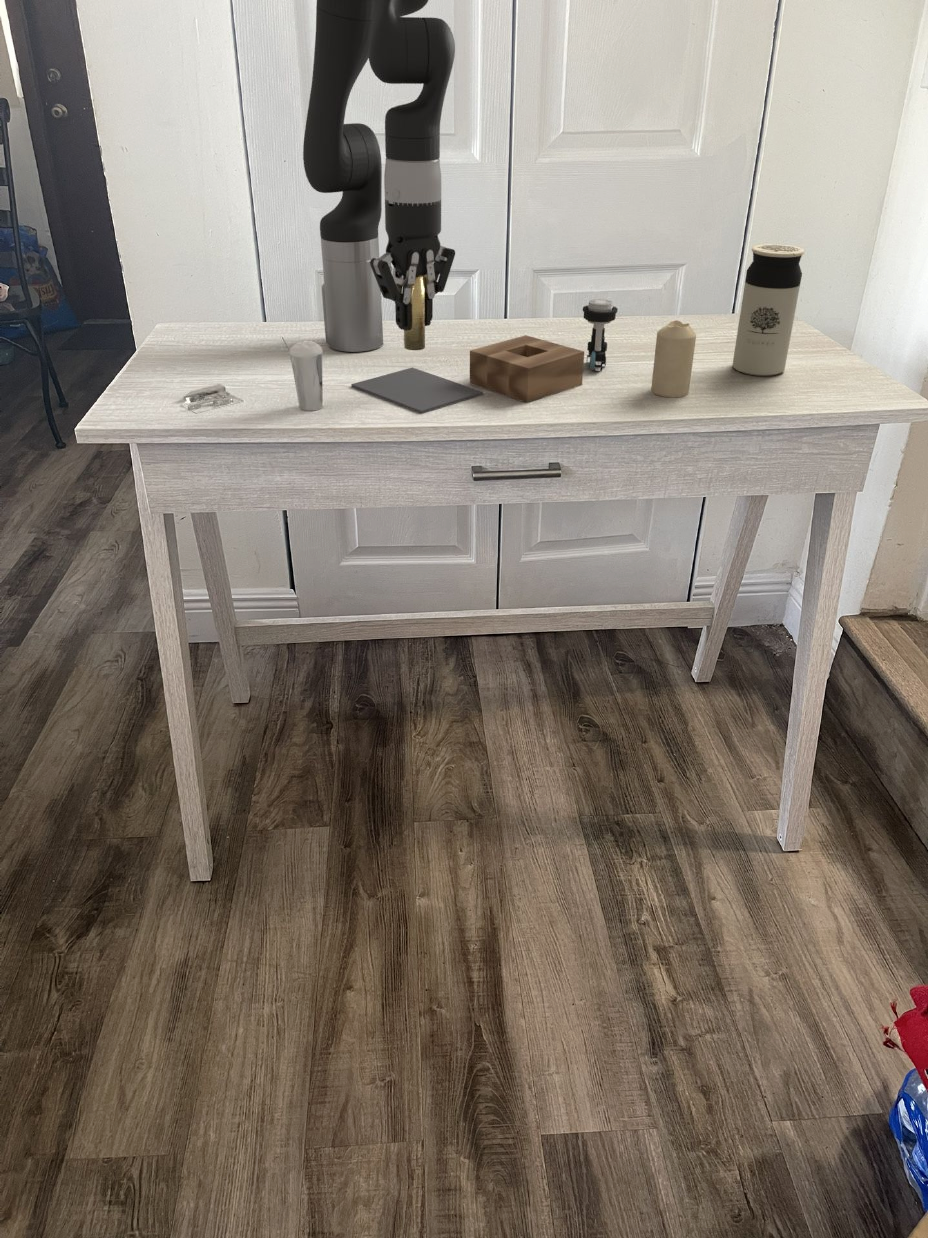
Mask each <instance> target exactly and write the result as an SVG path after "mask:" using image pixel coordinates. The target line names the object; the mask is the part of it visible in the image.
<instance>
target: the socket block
mask: <svg viewBox="0 0 928 1238" xmlns="http://www.w3.org/2000/svg"><path fill="white" fill-rule="evenodd" d="M584 361H585V351H584V350H580V349H577V348H572V347H570V346H565V345H563V344H559V343H554V342H552V341H547V340H544V339H540V338H537V337H533V336H530V335H522V336H521V335H520V336H518V337H514V338H510V339H507V340H503V341H499V342H496V343H492V344H488V345H484V346H480V347H477V348H474V349H469V384H471V385H473V386H477V387H479V388H482V389H485V390H487V391H488V390H489V391H490V392H493V393H497V394H499V395H502V396H504V397H505V396H506V397H507V398H511V399H515V400H517V401H521V402H524V403H527V404H528V403H531V402H534V401H537V400H541V399H543V398H546V397H549V396H552V395H555V394H558V393H561V392H563V391H567V390H569V389H573V388H575V387H580V386H582V385H583V376H584Z"/></svg>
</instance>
